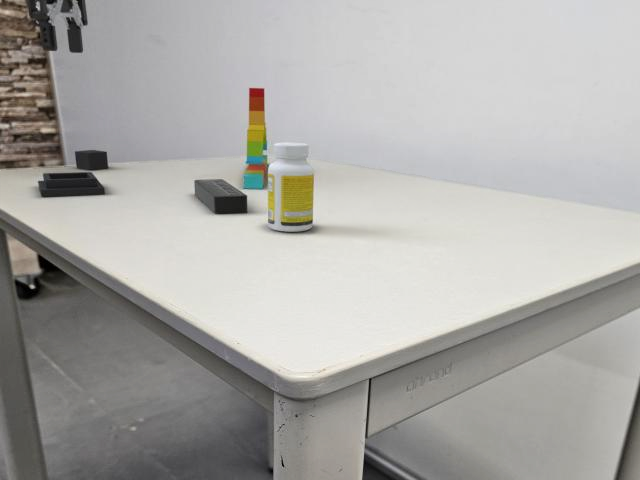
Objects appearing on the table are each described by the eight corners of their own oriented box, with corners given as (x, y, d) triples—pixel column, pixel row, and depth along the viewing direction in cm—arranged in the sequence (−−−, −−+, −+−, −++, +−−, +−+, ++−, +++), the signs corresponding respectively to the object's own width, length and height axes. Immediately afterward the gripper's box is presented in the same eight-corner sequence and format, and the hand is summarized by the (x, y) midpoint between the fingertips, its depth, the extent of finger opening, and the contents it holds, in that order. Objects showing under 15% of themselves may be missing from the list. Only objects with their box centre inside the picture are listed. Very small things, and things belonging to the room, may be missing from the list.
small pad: (76, 168, 117) (74, 151, 116) (94, 166, 120) (93, 149, 119) (90, 170, 115) (88, 153, 114) (108, 168, 118) (106, 151, 117)
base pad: (41, 197, 90) (39, 181, 89) (38, 187, 97) (36, 172, 96) (105, 194, 93) (103, 179, 92) (97, 185, 100) (96, 171, 99)
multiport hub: (215, 214, 82) (214, 196, 82) (194, 195, 95) (193, 179, 94) (248, 213, 84) (248, 195, 83) (223, 194, 96) (222, 178, 96)
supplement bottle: (321, 227, 77) (323, 144, 74) (294, 235, 73) (296, 147, 69) (286, 220, 80) (286, 140, 76) (258, 228, 76) (257, 143, 72)
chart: (251, 164, 130) (251, 86, 124) (267, 164, 130) (267, 86, 125) (242, 188, 102) (240, 89, 96) (262, 189, 102) (262, 89, 96)
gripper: (52, -52, 107) (64, 53, 113) (1, -70, 93) (18, 49, 99) (95, -51, 106) (104, 54, 112) (49, -70, 93) (63, 50, 99)
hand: (63, 51), depth 106 cm, fingers open, 8 cm apart
